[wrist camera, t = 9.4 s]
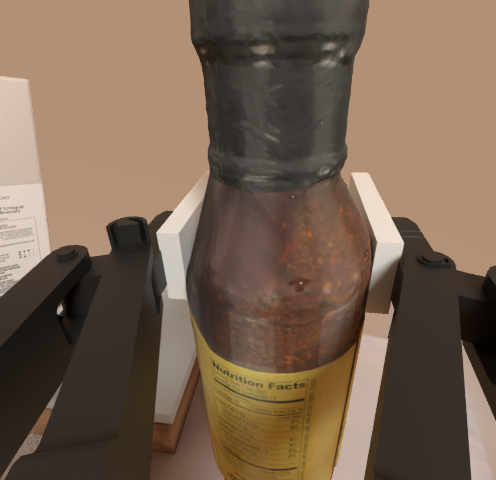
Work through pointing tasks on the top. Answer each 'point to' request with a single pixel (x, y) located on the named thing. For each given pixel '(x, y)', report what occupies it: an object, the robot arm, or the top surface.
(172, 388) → the lid
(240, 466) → the sauce bottle
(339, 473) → the top surface
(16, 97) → the tall white carton
